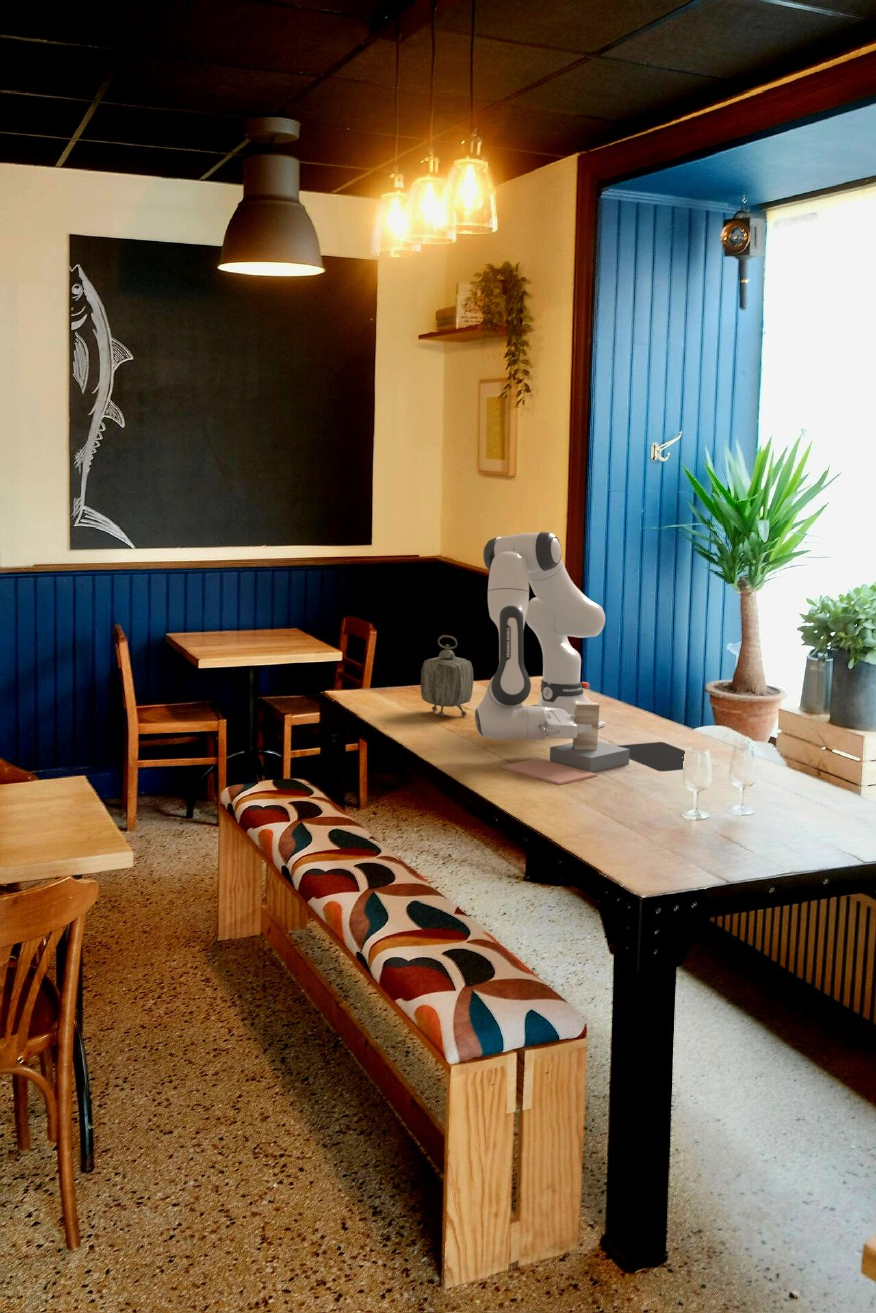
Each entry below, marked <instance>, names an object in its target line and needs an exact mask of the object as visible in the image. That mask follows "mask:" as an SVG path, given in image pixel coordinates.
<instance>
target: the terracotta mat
mask: <svg viewBox="0 0 876 1313" xmlns="http://www.w3.org/2000/svg"><path fill="white" fill-rule="evenodd" d="M501 768H502V769H505V770H508V771H511V772H514V773H517V774H518V773H519V774H522V775H524V776H528V777H532V778H535V779H539V780H542V781H545V782H549V783H552V784H555V785H558V786H562V785H565V784H570V783H574V782H577V781H578V782H579V781H582V780H586V779H590V778H594V777H597V775H598V774H597V773H596V772H592V773H591V772H588V771H584V770H581V769H577V768H573V767H570V766H566V765H563V764H559V763H555V762H552V761H550V760H548V759H544V758H540V757H536V758H532V759H527V760H523V761H519V762H513V763H508V764H504V765H501Z"/></svg>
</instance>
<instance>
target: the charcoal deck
mask: <svg viewBox="0 0 876 1313" xmlns="http://www.w3.org/2000/svg"><path fill="white" fill-rule="evenodd" d="M629 755H630V749H627V748H623V747H619V745H614V744H611V743H606V742H602V741H599V740H598V741H597V750H592V749H574V748H573V742H570V743H568V742H567V743H565V744H560V745H559V744H558V745H555V746H554V745H553V746H550V747H549V761H552V762H555V763H559V764H563V765H566V766H570V767H573V768H577V769H581V770H584V771H588V772H591V773H597V772H601V771H604V770H608V769H614V768H617V767H622V766H627V765H630V759H629Z"/></svg>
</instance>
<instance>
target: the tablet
mask: <svg viewBox="0 0 876 1313" xmlns="http://www.w3.org/2000/svg"><path fill="white" fill-rule="evenodd" d="M618 746H619V747H623V748H627V749H630V755H629V760H631V761H634V762H636V763H638V764H640V763H641V764H640V765H643V766H645V765H646V767H648V768H650V769H653V770H656V771H659V772H670V771H680V770H684V769H683V761H684V754H685V751H686V750H684V749H682V748H679V747H676V746H674V745H672V744H669V743H666V742H665V741H657V742H656V741H655V742H645V743H633V744H622V745H621V744H620V745H618ZM682 757H683V758H682Z"/></svg>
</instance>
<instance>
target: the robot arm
mask: <svg viewBox="0 0 876 1313" xmlns="http://www.w3.org/2000/svg"><path fill="white" fill-rule="evenodd" d="M482 553H483V554H482V555H483V556H482V557H483V562H484V563H483V564H484V565H485V568H486V569H487V570H488V572H489V574H488V582H487V583H488V584H487V585H488V586H487V606H488V607H487V608H488V613H489V618H490V619H491V620H492V622H493V623H494V624H495V626H496V627H497V630H498V641H499V642H498V644H499V645H498V652H499V654H498V660H499V661H498V667H497V670H496V671H495V673H494V675H493V676H492V677H491V679H490V680H489V682H488V685H487V687H486V691H485V693H484V696H483V698H482V700H480V701H481V702H480V703H479V705H478V706H477V707H476V708H475V711H474V720H475V726H476V729H477V731H478V734H480V735H481V736H482V737H483V738H484V737H485V738H487V739H496V740H497V739H498V740H510V739H511V740H512V739H521V740H537V741H538V740H540V741H542V740H544V738H545V736H547V737H549V738H554V739H568V740H569V739H571V740H573V738H576V737H577V733H583V732H591V731H592V725H591V724H585V725H579V724H576V723H575V722H574V711H575V702H579V703H594V702H593V701H592V700H591V699H590V698H588V697H587V696H586V694H584V692H585V691H584V690H585V689H586V690H589V688H590V686H591V685H590V683H589V682H585V681H582V682H581V668H582V667H581V666H582V658H581V654H580V653H579V652H578V651H577V649H575V648H573V646H572V645H571V643H570V642H569V638H568V637H574V638H579V639H580V638H581V639H582V638H593V637H594V638H595V637H597V636H599V635H600V633H602V631H603V629H604V627H605V624H606V614H605V612H604V608H603V607H602V606H601V605H600V604H598V603H596V602H594V601H592V600H591V599H590V598H589V597H587V595H585V594H584V593H583V592H582V591H581V590H580V589H579V587H577V586H576V584H574V581H573V580H572V579H571V577H570V575H569V573H568V571H567V568H566V567H565V564H564V562H563V560H562V544H561V541H560V539H559V538H558V537H557V536H556V535H555V534H554V533H552V532H547V531H541V532H523V533H521V532H520V533H517V534H511V535H510V534H509V535H506V536H505V535H504V536H497V537H493V538H491V539H489V540H488V541H487V543H486V544H485V545H484V548H483V552H482ZM530 587H531V589H532V592H533V594H534V595H535V597H533V598H531V599H530ZM529 599H530V600H529ZM525 624H527V625H528V627H529V628H530V629H531V630H532V631H533V632H534V634H535V635H536V637H537V640H538V642H539V644H540V648H541V652H542V679H541V682H540V692H541V695H540V697H539V700H538V704H531V705H523V703H524V702H525V701H526V700H527V698H528V697H529V695H530V692H531V689H532V683H531V679H530V676H529V673H528V671H527V669H526V666H525V661H524V660H525V659H524V654H525V653H524V632H525V631H524V630H525ZM603 727H606V722H605V721H603V720H601V719H599V723H598V729H600V728H603Z"/></svg>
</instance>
